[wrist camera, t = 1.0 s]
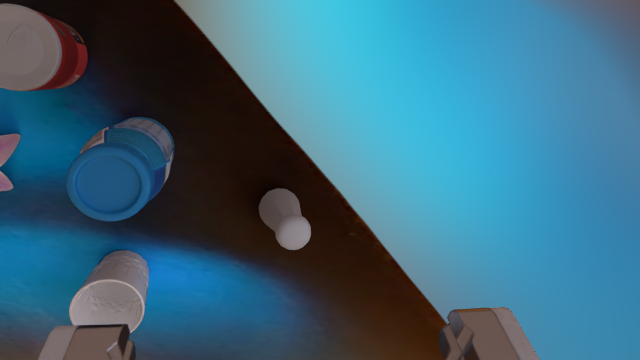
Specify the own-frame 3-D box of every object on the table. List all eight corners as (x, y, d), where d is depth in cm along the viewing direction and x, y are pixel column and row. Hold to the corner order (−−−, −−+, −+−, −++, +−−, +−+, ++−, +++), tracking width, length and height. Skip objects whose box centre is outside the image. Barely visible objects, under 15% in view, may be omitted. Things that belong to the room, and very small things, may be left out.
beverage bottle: (173, 114, 53) (156, 133, 35) (179, 176, 56) (166, 227, 37) (102, 116, 51) (43, 138, 33) (111, 181, 53) (60, 237, 35)
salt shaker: (249, 210, 59) (260, 244, 47) (270, 177, 59) (287, 203, 47) (282, 228, 61) (302, 266, 49) (303, 196, 61) (328, 226, 49)
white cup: (130, 307, 58) (116, 352, 49) (78, 279, 55) (53, 320, 46) (165, 265, 58) (158, 301, 49) (116, 234, 55) (98, 266, 46)
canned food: (96, 32, 49) (67, 20, 39) (82, 97, 50) (50, 102, 40) (22, 8, 47) (-29, -12, 36) (9, 77, 48) (-44, 76, 37)
